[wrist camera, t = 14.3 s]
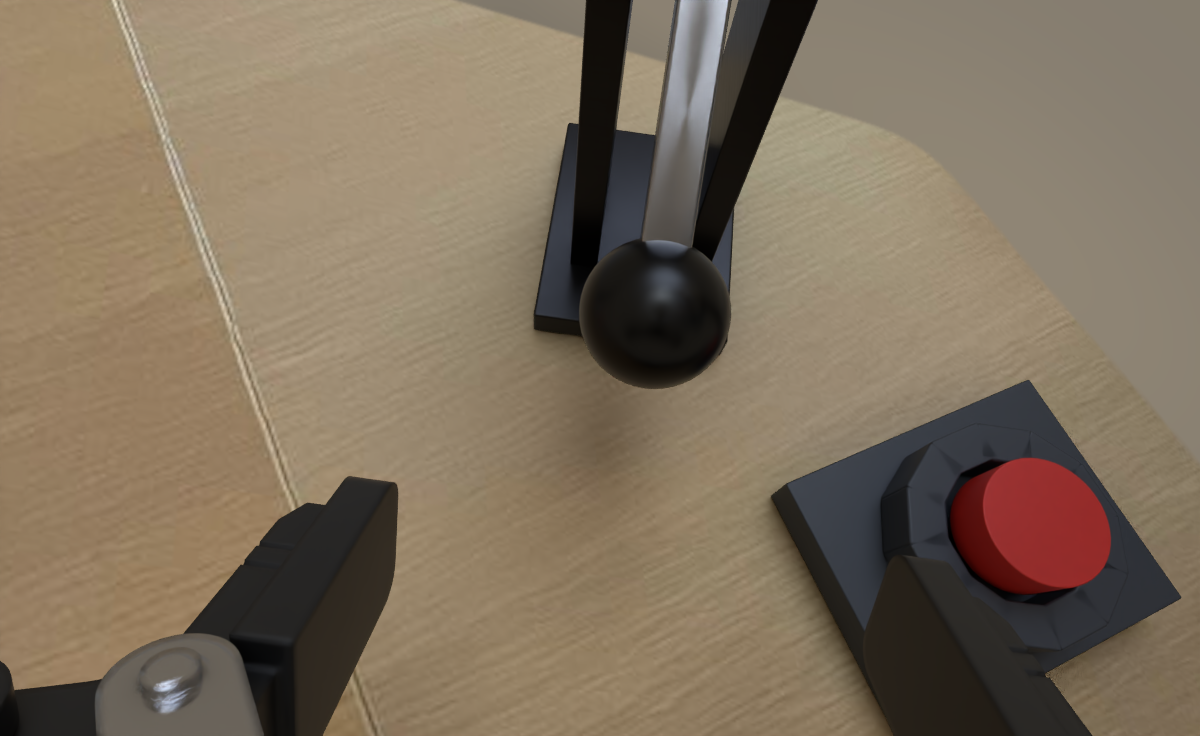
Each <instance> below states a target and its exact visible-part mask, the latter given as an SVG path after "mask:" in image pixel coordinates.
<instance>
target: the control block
mask: <svg viewBox="0 0 1200 736" xmlns="http://www.w3.org/2000/svg"><path fill="white" fill-rule="evenodd" d="M1020 458H1038V459H1043V460H1047V461H1051V462H1054V463H1056V464H1058V465H1060V466H1063V467H1064V468H1066V469H1068V470H1069V471H1071V472H1072V473H1074V474H1075V475H1076V476H1078V477H1079V478H1080V479H1081V480H1082V481H1083V482H1084V483H1085V484H1086V485H1087V486H1088V487H1089V488H1090V489H1091V490H1092V492H1093V493H1094V494H1095V495H1096V497H1097V499H1098V500H1099V502H1100V503H1101V505H1102V507H1103V509H1104V511H1105V514H1106V517H1107V519H1108V523H1109V527H1110V534H1111V547H1110V554H1109V557H1108V560H1107V562H1106V564H1105V566H1104V568H1103V569H1102V570H1101V572H1100V573H1099V574H1098V575H1097V576H1096V577H1095V578H1094V579H1092V580H1091V581H1089V582H1088V583H1086V584H1083V585H1081V586H1078V587H1073V588H1068V589H1061V590H1055V591H1049V592H1043V593H1037V594H1028V595H1022V594H1014V593H1009V592H1006V591H1003V590H1000V589H998V588H996V587H994V586H992V585H991V584H989V583H987V582H986V581H984V580H983V579H982V578H980V577H979V576H978V575H977V574H976V573H975V572H974V571H973V570H972V569H971V568H970V567H969V566H968V564H967V563H966V562H965V560H964V559H963V558H962V556H961V554H960V552H959V551H958V549H957V547H956V544H955V542H954V539H953V535H952V531H951V524H950V514H951V507H952V504H953V500H954V498H955V496H956V494H957V492H958V491H959V489H960V488H961V487H962V486H963V485H964V484H965V483H966V482H968V481H969V480H970V479H972V478H974V477H976V476H978V475H980V474H983V473H985V472H987V471H989V470H991V469H994V468H996V467H998V466H1000V465H1002V464H1004V463H1007V462H1009V461H1012V460H1015V459H1020ZM771 497H772V499H773V501H774V503H775V505H776V507H777V509H778V510H779V512H780V514H781V516H782V518H783V520H784V522H785V524H786V526H787V528H788V530H789V532H790V534H791V536H792V537H793V539H794V541H795V543H796V545H797V547H798V549H799V551H800V553H801V555H802V557H803V559H804V561H805V562H806V564H807V566H808V568H809V570H810V572H811V574H812V576H813V578H814V580H815V582H816V584H817V586H818V588H819V589H820V591H821V593H822V595H823V597H824V599H825V601H826V603H827V605H828V607H829V609H830V611H831V613H832V615H833V616H834V618H835V620H836V622H837V624H838V626H839V628H840V630H841V632H842V634H843V636H844V638H845V640H846V642H847V643H848V645H849V647H850V649H851V651H852V653H853V655H854V657H855V659H856V661H857V663H858V665H859V667H860V669H861V670H862V672H863V674H864V676H865V678H866V680H867V682H868V684H869V686H870V688H871V690H872V692H873V694H874V696H875V697H876V699H877V701H878V703H879V705H880V707H881V704H880V702H879V700H878V697H877V695H876V692H875V690H874V688H873V685H872V683H871V681H870V678H869V676H868V674H867V671H866V668H865V663H864V657H863V639H864V633H865V629H866V626H867V623H868V620H869V617H870V614H871V612H872V609H873V606H874V603H875V600H876V597H877V594H878V591H879V589H880V586H881V583H882V580H883V577H884V574H885V571H886V569H887V566H888V564H889V562H890V560H891V559H892V558H893V557H894V556H895V555H906V556H913V557H920V558H927V559H934V560H941V561H945V562H947V563H949V564H950V565H951V566H952V568H953V569H954V571H955V572H956V573H957V575H958V576H959V578H960V579H961V580H962V582H963V583H964V585H965V586H966V588H967V589H968V590H969V592H970V593H971V595H972V596H973V597H977V598H980V599H981V600H982V601H984V602H985V603H986V604H987V605H988V606H990V607H991V608H992V609H993V610H994V611H996V612H997V613H998V614H999V615H1001V616H1002V617H1003V618H1004V619H1005V620H1007V621H1008V622H1009V623H1010V625H1011V626H1012V627H1013V629H1014V630H1015V631H1016V633H1017V634H1018V635H1019V637H1020V638H1021V639H1022V641H1023V642H1024V644H1025V645H1026V646H1027V648H1028V649H1029V654H1030V655H1033V656H1034V657H1035V659H1036V660H1037V661H1038V663H1039V664H1040V665H1041V667H1042V668H1043V669H1044V671H1045V673H1047V672H1048V671H1050V670H1052V669H1054V668H1056V667H1058V666H1059V665H1061V664H1063V663H1065V662H1067V661H1068V660H1070V659H1072V658H1074V657H1076V656H1078V655H1079V654H1081V653H1083V652H1085V651H1087V650H1088V649H1090V648H1092V647H1094V646H1096V645H1098V644H1099V643H1101V642H1103V641H1105V640H1107V639H1108V638H1110V637H1112V636H1114V635H1116V634H1118V633H1119V632H1121V631H1123V630H1125V629H1127V628H1128V627H1130V626H1132V625H1134V624H1136V623H1138V622H1139V621H1141V620H1143V619H1145V618H1147V617H1148V616H1150V615H1152V614H1154V613H1156V612H1158V611H1159V610H1161V609H1163V608H1165V607H1167V606H1168V605H1170V604H1172V603H1174V602H1176V601H1177V600H1179V599H1181V596H1180V595H1179V593H1178V592H1177V590H1176V589H1175V587H1174V586H1173V585H1172V583H1171V582H1170V580H1169V579H1168V577H1167V576H1166V575H1165V573H1164V572H1163V570H1162V569H1161V567H1160V566H1159V565H1158V563H1157V562H1156V560H1155V559H1154V558H1153V556H1152V555H1151V553H1150V552H1149V550H1148V549H1147V548H1146V546H1145V545H1144V543H1143V542H1142V540H1141V539H1140V538H1139V536H1138V535H1137V533H1136V532H1135V530H1134V529H1133V528H1132V526H1131V525H1130V523H1129V522H1128V520H1127V519H1126V518H1125V516H1124V515H1123V513H1122V512H1121V510H1120V509H1119V508H1118V506H1117V505H1116V503H1115V502H1114V500H1113V499H1112V498H1111V496H1110V495H1109V493H1108V492H1107V490H1106V489H1105V488H1104V486H1103V485H1102V483H1101V482H1100V480H1099V479H1098V478H1097V476H1096V475H1095V473H1094V472H1093V470H1092V469H1091V468H1090V466H1089V465H1088V463H1087V462H1086V460H1085V459H1084V458H1083V456H1082V455H1081V453H1080V452H1079V450H1078V449H1077V448H1076V446H1075V445H1074V443H1073V442H1072V440H1071V439H1070V438H1069V436H1068V435H1067V433H1066V432H1065V430H1064V429H1063V428H1062V426H1061V425H1060V423H1059V422H1058V421H1057V419H1056V418H1055V416H1054V415H1053V413H1052V412H1051V411H1050V409H1049V408H1048V406H1047V405H1046V403H1045V402H1044V401H1043V399H1042V398H1041V396H1040V395H1039V393H1038V392H1037V391H1036V389H1035V388H1034V386H1033V385H1032V383H1031V382H1030V381H1029V380H1026V381H1024V382H1021V383H1019V384H1017V385H1014V386H1012V387H1010V388H1007V389H1005V390H1003V391H1000V392H998V393H996V394H993V395H991V396H989V397H987V398H984V399H982V400H980V401H977V402H975V403H973V404H970V405H968V406H966V407H963V408H961V409H959V410H956V411H954V412H952V413H949V414H947V415H945V416H942V417H940V418H938V419H935V420H933V421H931V422H928V423H926V424H924V425H921V426H919V427H917V428H914V429H912V430H910V431H907V432H905V433H903V434H900V435H898V436H896V437H893V438H891V439H889V440H886V441H884V442H882V443H880V444H877V445H875V446H873V447H870V448H868V449H866V450H863V451H861V452H859V453H856V454H854V455H852V456H849V457H847V458H845V459H842V460H840V461H838V462H835V463H833V464H831V465H828V466H826V467H824V468H821V469H819V470H817V471H814V472H812V473H810V474H807V475H805V476H803V477H800V478H798V479H796V480H793V481H791V482H789V483H787V484H785V485H784V486H783V487H782V488H780V489H779V490H778V491H776V492H775V493H774V494H773V495H772V496H771ZM881 709H882V707H881ZM882 711H883V709H882ZM883 713H884V711H883ZM884 715H885V714H884ZM885 717H886V716H885ZM886 719H887V718H886Z"/></svg>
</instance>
